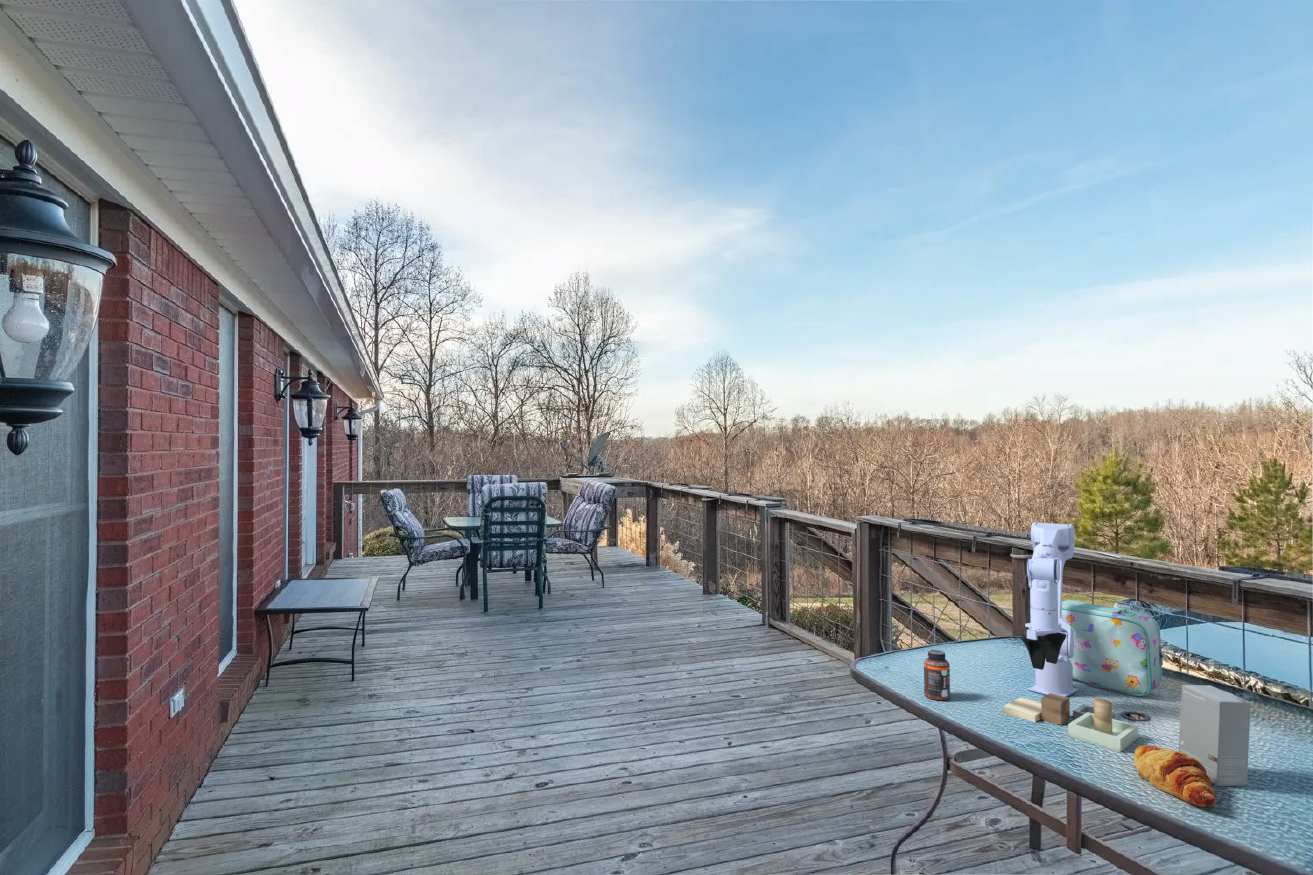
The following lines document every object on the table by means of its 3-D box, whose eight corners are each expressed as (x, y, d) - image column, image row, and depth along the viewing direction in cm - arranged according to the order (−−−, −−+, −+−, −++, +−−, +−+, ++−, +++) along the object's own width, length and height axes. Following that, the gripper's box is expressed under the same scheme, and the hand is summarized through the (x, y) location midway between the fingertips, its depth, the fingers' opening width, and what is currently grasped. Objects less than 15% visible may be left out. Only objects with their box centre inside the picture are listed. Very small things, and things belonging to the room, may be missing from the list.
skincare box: (1176, 766, 125) (1175, 683, 126) (1210, 764, 126) (1208, 682, 126) (1218, 788, 117) (1216, 699, 117) (1254, 786, 117) (1252, 698, 118)
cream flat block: (1021, 704, 158) (1021, 696, 158) (1052, 713, 152) (1052, 705, 152) (1002, 714, 151) (1002, 706, 151) (1035, 724, 146) (1034, 715, 146)
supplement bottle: (952, 702, 158) (952, 655, 158) (926, 700, 159) (926, 654, 159) (946, 693, 164) (946, 648, 164) (921, 691, 165) (921, 647, 165)
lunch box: (1172, 695, 163) (1170, 610, 163) (1156, 704, 157) (1154, 615, 158) (1058, 667, 185) (1056, 592, 186) (1040, 674, 179) (1039, 596, 180)
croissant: (1124, 775, 129) (1103, 737, 130) (1173, 754, 128) (1151, 716, 129) (1196, 833, 108) (1169, 788, 109) (1254, 809, 107) (1227, 763, 108)
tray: (1087, 723, 145) (1087, 711, 145) (1138, 738, 138) (1138, 725, 138) (1068, 736, 139) (1068, 724, 139) (1120, 752, 131) (1120, 739, 131)
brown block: (1050, 714, 150) (1050, 692, 151) (1069, 720, 147) (1069, 697, 147) (1041, 719, 147) (1041, 697, 147) (1061, 725, 144) (1060, 702, 144)
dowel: (1099, 730, 140) (1098, 697, 141) (1115, 735, 137) (1114, 702, 138) (1091, 733, 139) (1090, 700, 139) (1107, 738, 136) (1106, 705, 136)
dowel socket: (1083, 710, 153) (1083, 704, 153) (1115, 719, 148) (1115, 712, 148) (1072, 717, 149) (1072, 710, 149) (1105, 726, 144) (1104, 719, 144)
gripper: (1038, 601, 162) (1039, 656, 161) (1012, 608, 153) (1013, 666, 152) (1070, 606, 156) (1071, 663, 156) (1045, 614, 147) (1046, 674, 147)
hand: (1044, 665), depth 154 cm, fingers open, 7 cm apart
